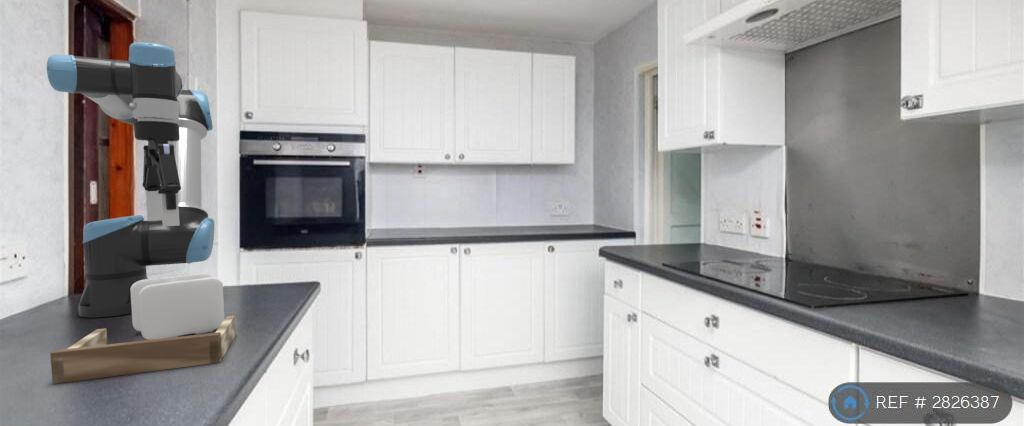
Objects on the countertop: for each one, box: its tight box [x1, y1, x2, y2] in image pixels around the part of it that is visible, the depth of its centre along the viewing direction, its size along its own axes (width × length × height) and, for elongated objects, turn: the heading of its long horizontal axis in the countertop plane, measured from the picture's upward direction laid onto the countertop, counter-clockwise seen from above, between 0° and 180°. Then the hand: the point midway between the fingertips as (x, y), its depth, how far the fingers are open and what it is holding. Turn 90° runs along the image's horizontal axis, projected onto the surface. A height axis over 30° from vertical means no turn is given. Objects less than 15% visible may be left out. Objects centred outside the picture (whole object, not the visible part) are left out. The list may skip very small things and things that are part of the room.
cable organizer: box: [130, 272, 225, 340], centre depth 101 cm, size 15×11×12 cm
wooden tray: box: [50, 315, 237, 385], centre depth 87 cm, size 16×23×5 cm
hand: (162, 223), depth 100 cm, fingers open, 13 cm apart
